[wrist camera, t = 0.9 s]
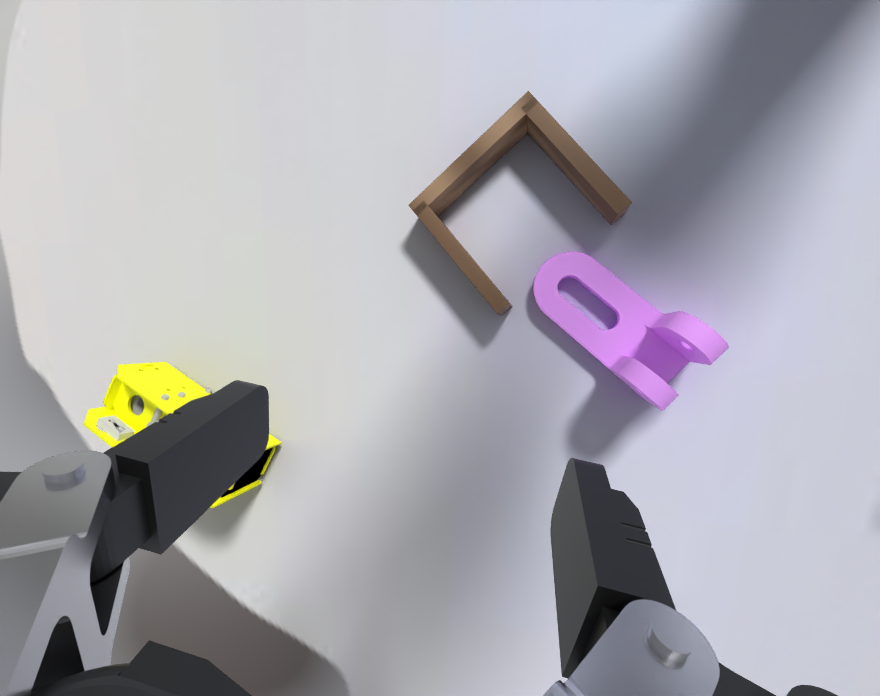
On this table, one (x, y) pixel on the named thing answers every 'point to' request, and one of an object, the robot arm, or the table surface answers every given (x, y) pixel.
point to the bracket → (627, 328)
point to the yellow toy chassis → (158, 411)
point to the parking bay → (485, 154)
